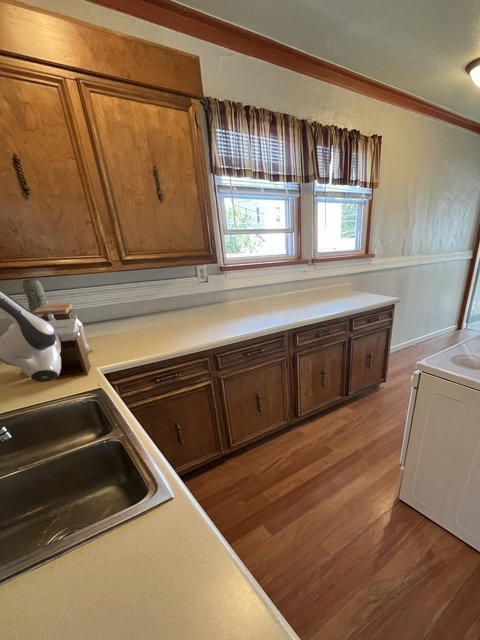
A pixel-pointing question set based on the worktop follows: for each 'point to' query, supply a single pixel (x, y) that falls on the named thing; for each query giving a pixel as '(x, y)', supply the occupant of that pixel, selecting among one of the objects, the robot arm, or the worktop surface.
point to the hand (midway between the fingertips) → (45, 315)
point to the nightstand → (72, 353)
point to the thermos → (34, 294)
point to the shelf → (53, 309)
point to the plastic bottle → (83, 336)
